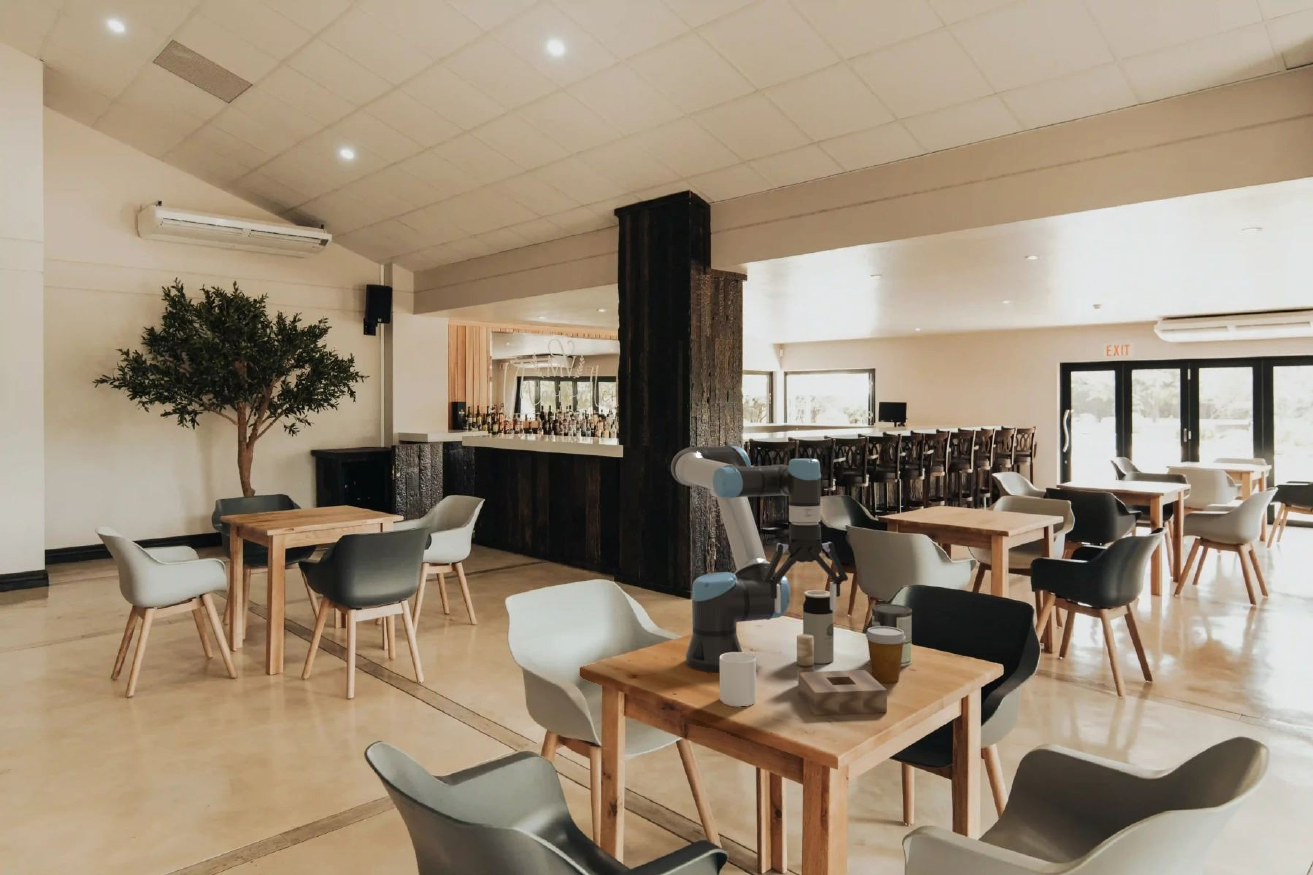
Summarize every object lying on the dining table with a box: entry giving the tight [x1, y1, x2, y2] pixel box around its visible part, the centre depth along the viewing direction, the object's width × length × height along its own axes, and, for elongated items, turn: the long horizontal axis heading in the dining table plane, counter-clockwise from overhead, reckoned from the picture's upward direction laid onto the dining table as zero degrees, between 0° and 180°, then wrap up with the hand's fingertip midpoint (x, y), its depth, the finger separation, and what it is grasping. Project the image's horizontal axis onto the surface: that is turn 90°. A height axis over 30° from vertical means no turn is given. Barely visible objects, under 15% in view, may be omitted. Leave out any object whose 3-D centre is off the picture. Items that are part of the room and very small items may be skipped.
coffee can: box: [871, 603, 913, 668], centre depth 211 cm, size 10×10×14 cm
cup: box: [719, 651, 757, 707], centre depth 184 cm, size 8×12×10 cm
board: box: [797, 669, 888, 716], centre depth 180 cm, size 16×14×5 cm
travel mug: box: [802, 589, 835, 665], centre depth 213 cm, size 8×8×18 cm
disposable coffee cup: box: [865, 626, 906, 684], centre depth 197 cm, size 10×10×12 cm
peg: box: [796, 633, 815, 687], centre depth 192 cm, size 4×4×12 cm
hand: (805, 611), depth 191 cm, fingers open, 13 cm apart
